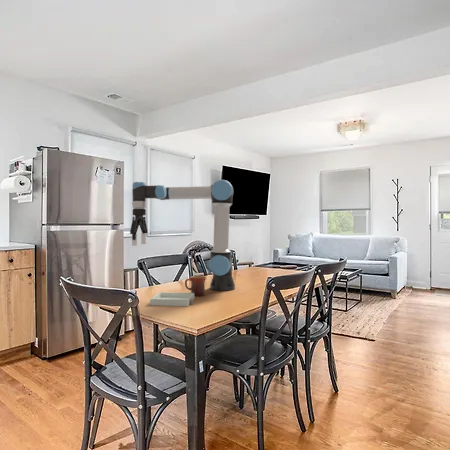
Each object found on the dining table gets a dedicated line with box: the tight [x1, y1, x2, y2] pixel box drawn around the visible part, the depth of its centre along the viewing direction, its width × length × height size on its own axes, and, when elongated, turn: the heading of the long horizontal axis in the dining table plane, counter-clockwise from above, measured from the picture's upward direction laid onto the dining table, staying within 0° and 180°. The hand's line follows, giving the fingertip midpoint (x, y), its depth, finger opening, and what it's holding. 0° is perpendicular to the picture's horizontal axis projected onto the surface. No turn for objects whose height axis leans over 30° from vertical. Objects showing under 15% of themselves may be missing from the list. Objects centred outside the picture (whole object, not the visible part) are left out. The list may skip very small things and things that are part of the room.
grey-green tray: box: [149, 291, 196, 307], centre depth 182 cm, size 21×17×3 cm
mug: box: [184, 275, 207, 297], centre depth 197 cm, size 12×9×10 cm
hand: (139, 244), depth 209 cm, fingers open, 13 cm apart
